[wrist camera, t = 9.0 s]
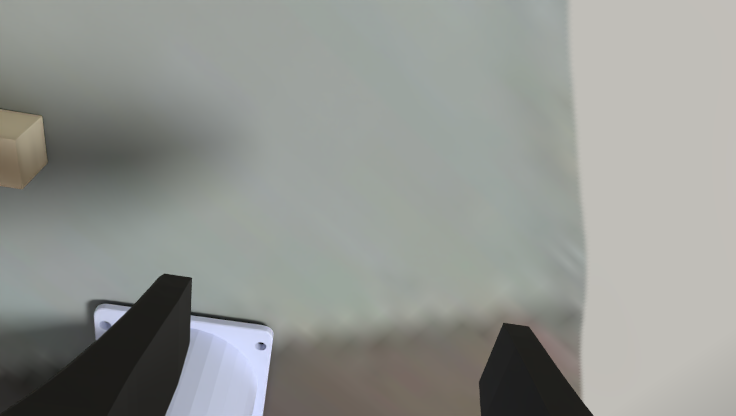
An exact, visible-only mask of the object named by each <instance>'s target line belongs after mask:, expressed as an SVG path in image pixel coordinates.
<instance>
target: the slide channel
mask: <svg viewBox="0 0 736 416" xmlns="http://www.w3.org/2000/svg"><path fill="white" fill-rule="evenodd" d="M47 163H48V161H47V152H46V144H45V136H44V127H43V119H42V116H39V115H33V114H27V113H21V112H15V111H9V110H3V109H0V186H4V187H10V188H17V189H23V188H24V187H25V186H26V185H27V184H28V183H29V182H30V181H31V180H32V179H33V178H34V177H35V176H36V175H37V174H38V173H39V171H40V170H41V169H42V168H43V167H44V166H45V165H46V164H47Z"/></svg>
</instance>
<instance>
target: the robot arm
mask: <svg viewBox="0 0 736 416" xmlns="http://www.w3.org/2000/svg"><path fill="white" fill-rule="evenodd" d="M191 290H192V278H190V277H183V276H177V275H170V274H163V275H161V276H160V277H159V278H158V279H157V280H156V281H155V282H154V283H153V284H152V286H151V287H150V288H149V289H148V290H147V291H146V292H145V293H144V294H143V295H142V296H141V298H140V299H139V300H138V301H137V302H136V303H135V304H134V305H133V306H132V307H127V306H120V305H113V304H101V305H99V306H98V307H97V308H96V310H95V311H94V326H95V337H96V341H95V342H94V343H93V344H92V345H91V346H90V347H88V348H87V349H86V350H85V351H84V352H83V353H81V354H80V355H79V356H78V357H77V358H76V359H74V360H73V361H72V362H71V363H70V364H68V365H67V366H66V367H65V368H63V369H62V370H61V371H60V372H58V373H57V374H56V375H55V376H53V377H52V378H51V379H49V380H48V381H47V382H45V383H44V384H43V385H41V386H40V387H39V388H37V389H36V390H35V391H33V392H32V393H30V394H29V395H28V396H26V397H25V398H23V399H22V400H20V401H19V402H17V403H16V404H14V405H13V406H11V407H10V408H8V409H7V410H5V411H4V412H2V413H1V414H0V416H263V410H264V402H265V395H266V387H267V380H268V372H269V365H270V357H271V350H272V342H273V331H272V329H271V328H269V327H268V326H264V325H258V324H250V323H243V322H236V321H229V320H221V319H214V318H207V317H200V316H192V315H191ZM104 321H106V322H109V323H110V324H109V323H106V322H104ZM258 342H262V343H264V344H259V343H258ZM479 389H480V406H481V416H593V414H592V413H591V412H590V411H589V409H588V408H587V407H586V406H585V404H584V403H583V402H582V400H581V399H580V398H579V396H578V395H577V394H576V392H575V391H574V390H573V388H572V387H571V386H570V384H569V383H568V381H567V380H566V379H565V377H564V376H563V375H562V373H561V372H560V370H559V369H558V368H557V366H556V365H555V363H554V362H553V360H552V359H551V358H550V356H549V355H548V353H547V352H546V350H545V349H544V348H543V346H542V345H541V343H540V342H539V340H538V339H537V337H536V336H535V335H534V333H533V332H532V330H531V329H530V328H529V327H528V326H522V325H515V324H508V323H503V325H502V328H501V330H500V333H499V335H498V337H497V340H496V342H495V345H494V347H493V350H492V352H491V354H490V357H489V359H488V362H487V364H486V366H485V369H484V371H483V374H482V376H481V379H480V381H479Z"/></svg>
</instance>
